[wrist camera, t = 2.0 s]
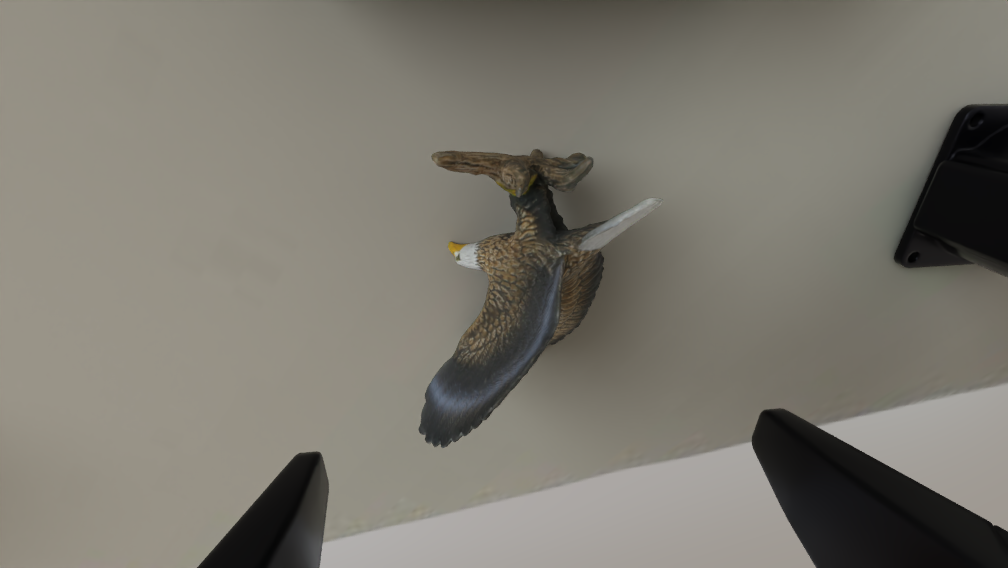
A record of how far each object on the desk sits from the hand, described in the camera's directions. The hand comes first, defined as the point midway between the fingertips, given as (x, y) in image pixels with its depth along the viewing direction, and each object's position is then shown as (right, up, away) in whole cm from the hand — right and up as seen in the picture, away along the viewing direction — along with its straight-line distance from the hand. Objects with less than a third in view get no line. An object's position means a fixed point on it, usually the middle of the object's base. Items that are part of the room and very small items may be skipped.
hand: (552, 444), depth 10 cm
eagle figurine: (-1, +4, +8) cm, 10 cm away
